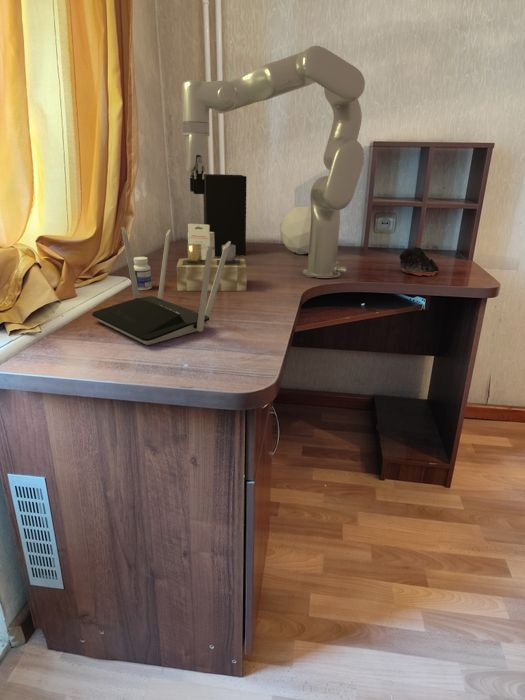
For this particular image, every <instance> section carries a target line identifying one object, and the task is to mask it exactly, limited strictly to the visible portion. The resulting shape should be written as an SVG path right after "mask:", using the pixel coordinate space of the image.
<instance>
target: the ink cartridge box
mask: <svg viewBox="0 0 525 700" xmlns="http://www.w3.org/2000/svg"><path fill="white" fill-rule="evenodd" d="M197 228H200V229H197ZM187 231H188V232H187V245H188V244H200V245H201V256H202V259H206V253H207V250H208V249H209V247H210V246H213V250H212V259H216V256H215V243H214V232H210V226H209V225H205V224H204V223H203V224H201V223H188V224H187Z"/></svg>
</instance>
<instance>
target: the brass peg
mask: <svg viewBox="0 0 525 700" xmlns="http://www.w3.org/2000/svg"><path fill="white" fill-rule="evenodd" d="M187 259H188V264H202V256H201V245H200V244H188V243H187Z"/></svg>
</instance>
